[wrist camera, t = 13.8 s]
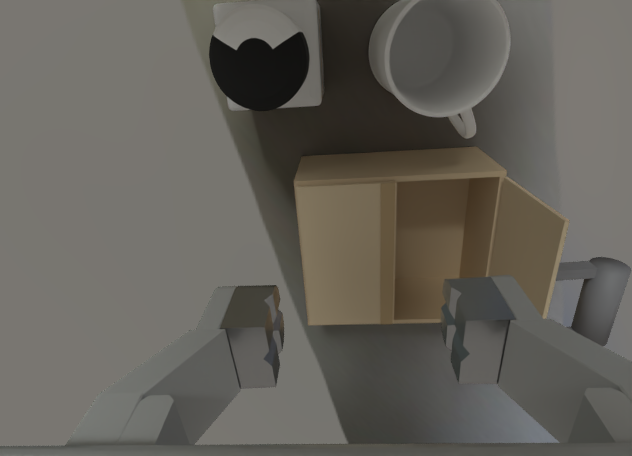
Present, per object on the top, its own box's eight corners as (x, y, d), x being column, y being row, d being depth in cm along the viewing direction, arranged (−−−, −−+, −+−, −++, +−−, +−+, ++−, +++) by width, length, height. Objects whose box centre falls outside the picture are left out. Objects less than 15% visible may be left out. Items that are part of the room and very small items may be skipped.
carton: (301, 156, 41) (293, 183, 33) (476, 146, 40) (509, 172, 32) (312, 282, 48) (308, 328, 40) (461, 277, 47) (486, 325, 39)
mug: (482, 104, 38) (540, 131, 27) (399, 141, 40) (422, 180, 29) (445, -24, 33) (495, -53, 23) (353, 25, 35) (360, 20, 25)
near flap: (565, 221, 24) (660, 214, 24) (504, 177, 32) (576, 172, 32) (525, 392, 31) (600, 388, 31) (482, 321, 39) (542, 318, 39)
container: (324, 93, 38) (318, 118, 26) (247, 98, 39) (208, 124, 27) (320, 3, 35) (310, -14, 23) (235, 10, 35) (184, -4, 24)
